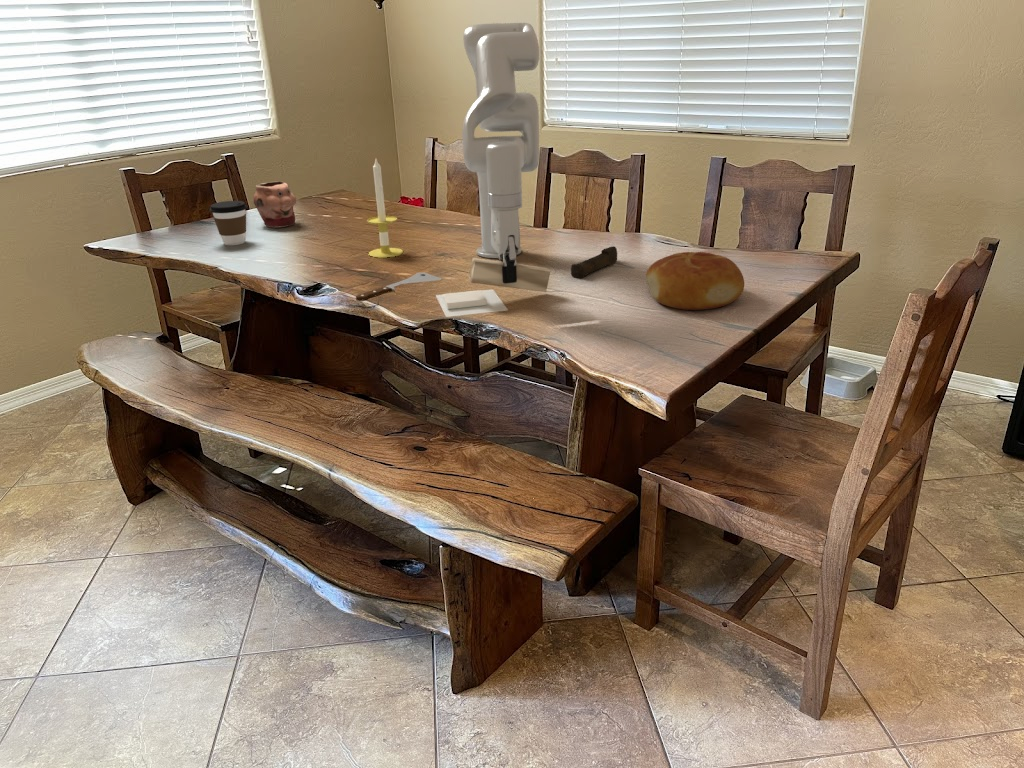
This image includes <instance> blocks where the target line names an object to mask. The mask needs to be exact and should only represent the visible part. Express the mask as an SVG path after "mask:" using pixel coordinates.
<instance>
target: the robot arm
mask: <svg viewBox="0 0 1024 768" xmlns="http://www.w3.org/2000/svg"><path fill="white" fill-rule="evenodd" d="M463 46H464V49H465V53H466V56H467V58H468V61H469V63H470V65H471V68H472V70H473V73H474V76H475V90H476V100H475V101H474V102H473V103H472V105H471V106H470V107H469V109H468V111H467V113H466V114H465V117H464V119H463V123H462V132H461V133H462V135H461V137H462V139H461V140H462V153H463V155H462V156H463V162H464V165H465V167H466V169H467V170H469V171H470V172H472V173H477V181H478V183H477V184H478V192H479V193H478V194H479V214H480V215H479V216H480V231H481V233H480V235H481V237H480V238H481V246H479V247H477V249H476V254H477V256H479V257H481V258H487V259H498V261H499V262H503V265H504V266H502V277H503V283H504V284H506V283H515V282H517V271H516V264H517V256H518V255H520V254H521V253H522V248H521V231H520V230H521V229H520V216H519V209H521V208H522V207H523V192H522V189H523V185H522V182H523V181H522V173H529V172H533V171H536V170H537V169H538V166H539V162H540V116H539V107H538V105H539V104H538V101H537V99H536V97H535V96H534V94H532V93H529V92H517V90H516V89H517V88H516V77H515V72H524V71H525V72H526V71H527V72H528V71H534V70H535V69H536V68H537V67H538V65H539V60H540V46H539V39H538V37H537V33H536V32H535V29H534V27H533V26H532V24H530V23H527V22H508V23H507V22H506V23H505V22H504V23H501V22H500V23H498V22H496V23H495V22H493V23H480V24H474V25H471V26H468V27H466V29H464V32H463ZM478 126H479V127H480V128H481V130H482V131H484V132H489V133H490V132H491V133H498V132H499V133H502V132H503V133H504V132H505V133H507V132H520V133H521V134H522V135H521V134H520V135H497V136H495V135H493V136H484V137H483V136H482V137H475V131H476V128H477V127H478Z"/></svg>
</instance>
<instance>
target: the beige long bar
mask: <svg viewBox="0 0 1024 768" xmlns="http://www.w3.org/2000/svg"><path fill="white" fill-rule="evenodd" d="M502 266H504V265H503V262H501V261H499V260H492V259H491V260H490V259H483V258H477V257H472V260H471V265H470V272H469V277H468V280H469V282H471V284H479V285H486V286H494V287H504V288H508V289H509V288H510V289H516V290H518V289H519V290H524V291H525V290H526V291H533V292H534V291H535V292H541V293H542V292H543V293H547V289H548V284H549V281H550V280H549V279H550V276H551V273H552V272H551V270H550V269H549V268H547V267H542V266H535V265H528V264H522V263H521V264H520V263H516V271H517V282H515V283H506V284H504V283H503V277H502Z"/></svg>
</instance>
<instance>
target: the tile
mask: <svg viewBox="0 0 1024 768" xmlns="http://www.w3.org/2000/svg"><path fill="white" fill-rule="evenodd" d="M481 291H482V290H480V289H479V290H478V289H477V290H469V291H461V292H460V291H458V292H449V293H442V294H441V295H443V301H444V303H445V305H446V307H447V309H448V310H450V309H459V308H469V307H478V306H486V305H487V302H486V298H485V296H484V295H483V293H482V292H481Z"/></svg>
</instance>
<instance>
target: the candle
mask: <svg viewBox="0 0 1024 768" xmlns="http://www.w3.org/2000/svg"><path fill="white" fill-rule="evenodd" d="M372 170H373V181H374V188H375V189H374V192H375V200H376V201H375V202H376V207H377V208H376V209H377V216H373V217H369V218H367V220H366V222H367V223H368V224H372V225H378V232H379V233H378V235H379V243H380V244H379V245H380V248H375V249H373V250H372V249H371V251H369V252H368V253H369V254H367V256H369V255H370V256H373V257H372V258H374V257H378V258H377V259H388V258H387V257H390V258H395V256H396V257H398V256H401V255H402V254H404V250H403V249H401V248H397V247H390V240H389V239H390V237H389V230H388V229H389V228H388V224H392V223H395V222H397V221H398V217H396V216H392V215H387V214H386V207H385V206H386V205H385V196H384V186H383V177H382V175H383V174H382V166H381V164H380V163H379V162H378V159H377V158H375V160H374V164H373V165H372ZM370 256H369V257H370Z"/></svg>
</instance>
